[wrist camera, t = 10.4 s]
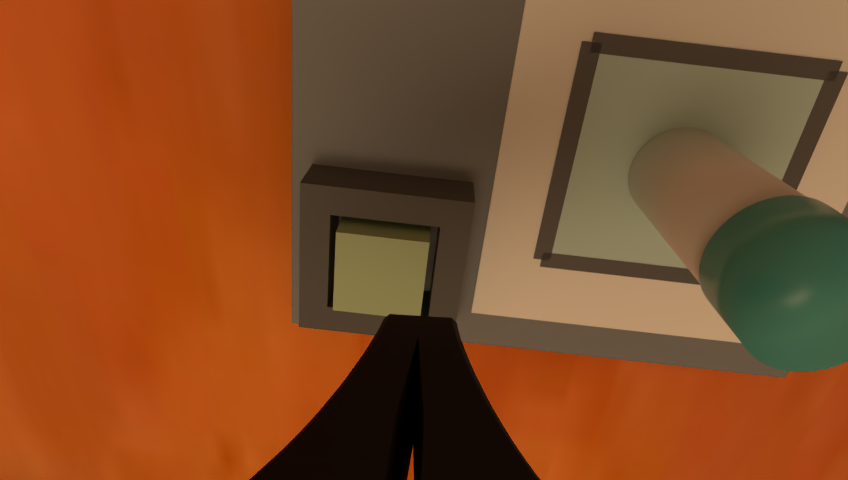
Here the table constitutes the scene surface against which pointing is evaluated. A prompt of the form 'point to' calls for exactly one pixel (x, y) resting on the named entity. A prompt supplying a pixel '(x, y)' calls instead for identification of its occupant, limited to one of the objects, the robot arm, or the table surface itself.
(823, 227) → the marker
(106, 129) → the table surface
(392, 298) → the button
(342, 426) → the robot arm
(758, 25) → the colouring board
